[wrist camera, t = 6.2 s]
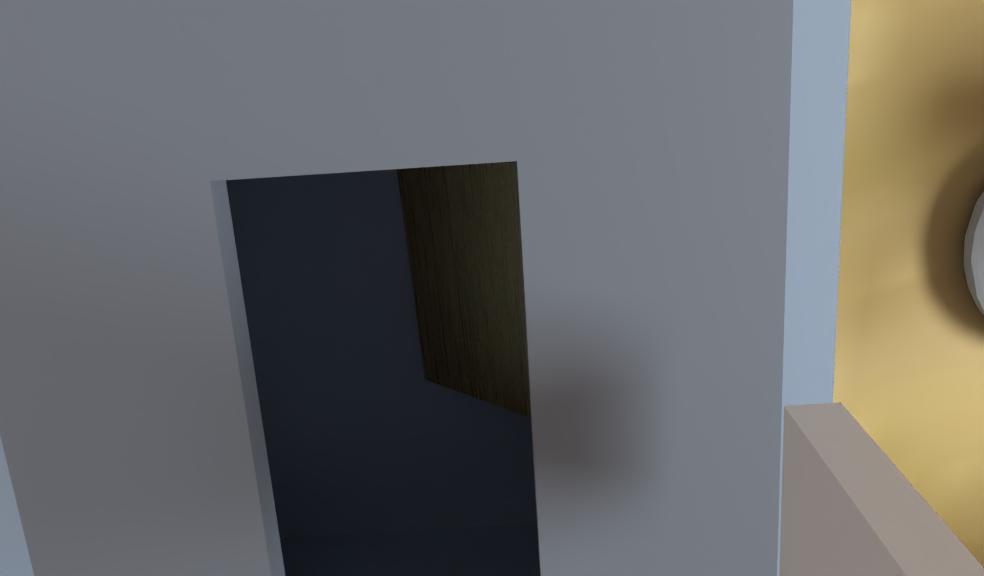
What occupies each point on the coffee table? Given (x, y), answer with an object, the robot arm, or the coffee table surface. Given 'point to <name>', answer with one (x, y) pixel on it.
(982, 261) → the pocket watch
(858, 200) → the coffee table surface
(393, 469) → the coin box
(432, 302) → the tan flat block
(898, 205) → the coffee table surface
